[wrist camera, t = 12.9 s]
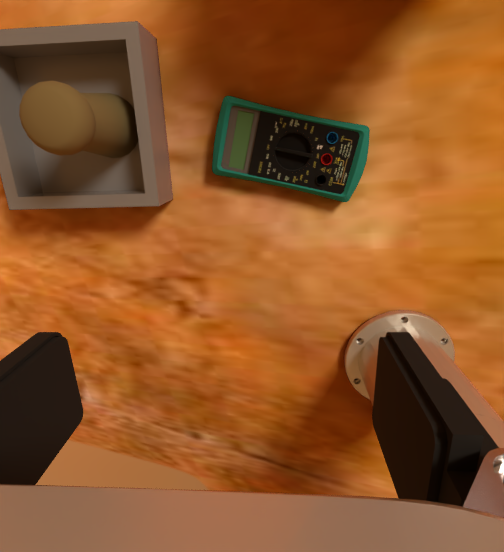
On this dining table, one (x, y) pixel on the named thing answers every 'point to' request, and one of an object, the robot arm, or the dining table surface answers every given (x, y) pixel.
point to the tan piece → (78, 120)
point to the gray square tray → (86, 79)
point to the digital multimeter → (289, 149)
